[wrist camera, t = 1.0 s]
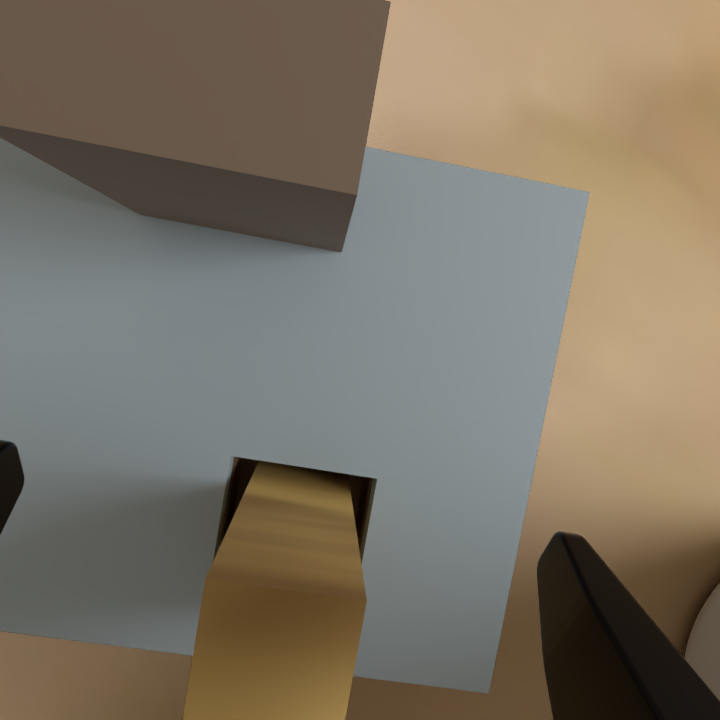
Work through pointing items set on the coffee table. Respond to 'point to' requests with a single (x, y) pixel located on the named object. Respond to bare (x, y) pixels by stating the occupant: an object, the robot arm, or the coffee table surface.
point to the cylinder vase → (706, 643)
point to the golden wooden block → (281, 603)
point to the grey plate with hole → (258, 323)
